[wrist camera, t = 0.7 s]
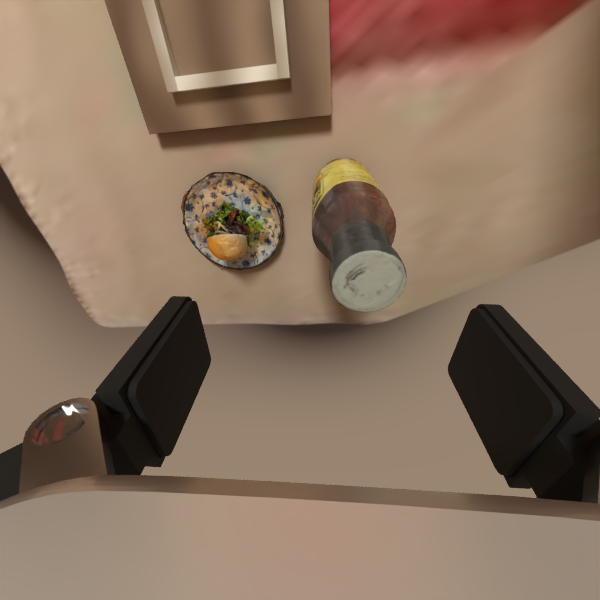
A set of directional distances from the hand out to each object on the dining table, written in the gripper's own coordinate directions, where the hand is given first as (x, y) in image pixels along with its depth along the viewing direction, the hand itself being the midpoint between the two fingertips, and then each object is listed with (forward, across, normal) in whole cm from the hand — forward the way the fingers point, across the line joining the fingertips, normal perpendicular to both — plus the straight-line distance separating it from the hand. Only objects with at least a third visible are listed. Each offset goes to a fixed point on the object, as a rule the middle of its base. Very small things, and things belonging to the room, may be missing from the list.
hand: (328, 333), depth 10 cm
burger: (+26, +10, +4) cm, 28 cm away
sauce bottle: (+25, -2, 0) cm, 26 cm away
